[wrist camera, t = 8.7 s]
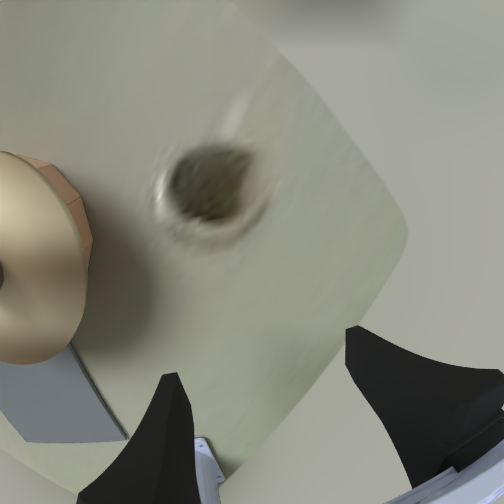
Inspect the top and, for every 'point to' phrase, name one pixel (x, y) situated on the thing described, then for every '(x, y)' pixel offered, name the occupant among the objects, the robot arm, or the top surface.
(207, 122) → the top surface
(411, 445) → the robot arm
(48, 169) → the terracotta bowl
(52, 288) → the oak lid
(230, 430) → the top surface
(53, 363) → the rubber mat
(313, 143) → the top surface
